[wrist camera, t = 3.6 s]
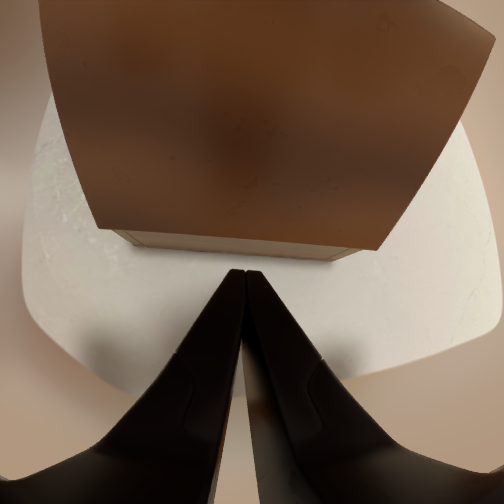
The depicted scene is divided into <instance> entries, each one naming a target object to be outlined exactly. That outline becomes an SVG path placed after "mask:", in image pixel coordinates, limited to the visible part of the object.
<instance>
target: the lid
mask: <svg viewBox="0 0 504 504" xmlns="http://www.w3.org/2000/svg"><path fill="white" fill-rule="evenodd" d="M38 3H39V14H40V24H41V31H42V39H43V46H44V52H45V57H46V63H47V68H48V73H49V78H50V83H51V87H52V92H53V96H54V100H55V104H56V108H57V112H58V115H59V119H60V123H61V126H62V130H63V133H64V136H65V140H66V143H67V146H68V149H69V152H70V156H71V159H72V162H73V165H74V167H75V170H76V173H77V176H78V179H79V181H80V184H81V187H82V190H83V192H84V195H85V197H86V200H87V203H88V205H89V208H90V210H91V212H92V215H93V217H94V220H95V222H96V224H97V227H98V228H99V229H109V230H124V231H139V232H153V233H167V234H181V235H195V236H208V237H221V238H234V239H246V240H259V241H271V242H283V243H295V244H306V245H318V246H329V247H340V248H352V249H362V250H373V251H377V250H378V249H379V247H380V246H381V245H382V243H383V242H384V241H385V239H386V238H387V236H388V235H389V233H390V232H391V231H392V229H393V228H394V226H395V225H396V223H397V222H398V221H399V219H400V218H401V216H402V215H403V213H404V212H405V210H406V209H407V207H408V206H409V204H410V203H411V201H412V200H413V198H414V196H415V195H416V193H417V192H418V190H419V189H420V187H421V185H422V184H423V182H424V181H425V179H426V177H427V176H428V174H429V172H430V171H431V169H432V168H433V166H434V164H435V162H436V161H437V159H438V157H439V156H440V154H441V152H442V150H443V149H444V147H445V145H446V143H447V142H448V140H449V138H450V136H451V134H452V133H453V131H454V129H455V127H456V125H457V123H458V121H459V119H460V117H461V116H462V114H463V112H464V110H465V108H466V106H467V104H468V101H469V100H470V98H471V95H472V93H473V91H474V89H475V87H476V85H477V83H478V80H479V78H480V76H481V74H482V72H483V69H484V67H485V65H486V62H487V60H488V58H489V55H490V53H491V50H492V48H493V45H494V43H495V40H496V38H495V36H494V35H492V34H491V33H490V32H488V31H487V30H485V29H484V28H483V27H481V26H480V25H478V24H477V23H475V22H474V21H472V20H471V19H469V18H467V17H466V16H465V15H463V14H461V13H460V12H458V11H457V10H455V9H453V8H451V7H450V6H448V5H446V4H444V3H443V2H441V1H439V0H38Z"/></svg>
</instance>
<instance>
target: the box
mask: <svg viewBox="0 0 504 504" xmlns="http://www.w3.org/2000/svg"><path fill="white" fill-rule="evenodd" d="M112 231H114V232H115V233H117V234H118V235H120V236H121V237H123V238H124V239H126V240H127V241H129V242H130V243H132V244H133V245H135V246H138V247H151V248H164V249H176V250H189V251H202V252H215V253H228V254H241V255H254V256H267V257H280V258H294V259H307V260H320V261H335V260H337V259H340V258H343V257H345V256H348V255H350V254H353V253H356V252H358V251H361V250H362V249H352V248H340V247H329V246H318V245H306V244H295V243H283V242H271V241H259V240H246V239H234V238H221V237H208V236H195V235H181V234H167V233H153V232H139V231H124V230H112Z"/></svg>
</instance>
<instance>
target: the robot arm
mask: <svg viewBox="0 0 504 504" xmlns="http://www.w3.org/2000/svg"><path fill="white" fill-rule="evenodd" d="M240 346H241V352H242V362H243V371H244V380H245V389H246V397H247V406H248V415H249V422H250V431H251V439H252V447H253V455H254V463H255V470H256V478H257V483H258V484H257V486H258V493H259V499H260V504H504V465H503V466H501V467H499V468H497V469H495V470H493V471H491V472H489V473H478V472H472V471H469V470H466V469H462V468H458V467H456V466H453V465H449V464H446V463H443V462H440V461H437V460H435V459H431V458H428V457H426V456H423V455H421V454H418V453H415V452H413V451H410V450H408V449H406V448H404V447H403V446H401V445H400V444H398V443H397V442H396V441H394V440H393V439H392V438H391V437H390V436H389V435H388V434H387V433H386V432H385V431H384V430H383V429H382V428H381V427H380V426H379V425H378V424H377V423H376V421H375V420H374V419H372V417H371V416H370V415H369V414H368V413H367V412H366V411H365V410H364V409H363V407H362V406H361V405H360V404H359V403H358V402H357V401H356V400H355V399H354V398H353V396H352V395H351V394H350V393H349V392H348V391H347V389H346V388H345V387H344V386H343V385H342V383H341V382H340V381H339V380H338V378H337V377H336V376H335V374H334V373H333V372H332V370H331V369H330V368H329V366H328V365H327V363H326V362H325V360H324V359H322V356H321V355H320V354H319V352H318V351H317V349H316V348H315V347H314V345H313V344H312V342H311V341H310V340H309V338H308V337H307V335H306V334H305V333H304V331H303V330H302V328H301V327H300V326H299V324H298V323H297V321H296V320H295V319H294V317H293V316H292V314H291V313H290V312H289V310H288V309H287V307H286V306H285V304H284V303H283V302H282V300H281V299H280V297H279V296H278V295H277V293H276V292H275V290H274V289H273V288H272V286H271V285H270V283H269V282H268V281H267V279H266V278H265V276H264V275H263V273H262V272H261V271H253V270H247V271H246V273H245V271H244V270H239V269H231V270H230V271H229V272H228V273H227V275H226V276H225V278H224V279H223V281H222V282H221V284H220V285H219V287H218V288H217V290H216V291H215V293H214V294H213V296H212V297H211V298H210V300H209V301H208V303H207V304H206V306H205V307H204V309H203V310H202V312H201V313H200V315H199V316H198V318H197V319H196V321H195V322H194V324H193V325H192V327H191V328H190V330H189V331H188V333H187V334H186V336H185V337H184V339H183V340H182V342H181V343H180V345H179V346H178V348H177V349H176V351H175V353H173V355H172V356H171V358H170V359H169V361H168V362H167V364H166V365H165V367H164V368H163V369H162V371H161V372H160V374H159V375H158V376H157V378H156V379H155V380H154V382H153V383H152V384H151V385H150V386H149V388H148V389H147V390H146V391H145V392H144V394H143V395H142V396H141V397H140V398H139V399H138V400H137V401H136V403H135V404H134V405H133V406H132V407H131V408H130V409H129V410H128V411H127V413H126V414H125V415H124V416H123V417H122V418H121V419H120V420H119V421H118V423H117V424H116V425H115V426H114V427H113V428H112V429H111V430H110V431H109V432H108V433H107V435H105V437H103V438H102V439H101V440H100V441H99V442H97V443H96V444H95V445H94V446H92V447H90V448H89V449H87V450H85V451H83V452H81V453H79V454H77V455H75V456H73V457H71V458H68V459H66V460H64V461H62V462H60V463H58V464H56V465H53V466H51V467H49V468H46V469H44V470H42V471H39V472H37V473H34V474H32V475H30V476H27V477H25V478H21V479H18V480H8V479H6V478H4V477H2V476H0V504H213V503H214V498H215V492H216V486H217V480H218V475H219V469H220V463H221V458H222V452H223V446H224V440H225V434H226V429H227V423H228V417H229V412H230V405H231V400H232V394H233V388H234V382H235V376H236V371H237V365H238V359H239V353H240ZM321 359H322V360H321Z"/></svg>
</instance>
